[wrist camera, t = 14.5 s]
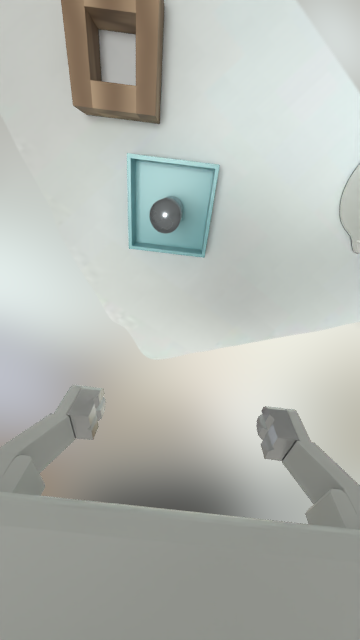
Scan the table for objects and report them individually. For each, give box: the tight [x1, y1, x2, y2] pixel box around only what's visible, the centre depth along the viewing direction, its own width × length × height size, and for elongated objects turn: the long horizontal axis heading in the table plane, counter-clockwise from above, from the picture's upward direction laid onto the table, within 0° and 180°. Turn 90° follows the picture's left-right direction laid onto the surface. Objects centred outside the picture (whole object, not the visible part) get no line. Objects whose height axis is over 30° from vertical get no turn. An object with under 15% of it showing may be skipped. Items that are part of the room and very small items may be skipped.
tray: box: [127, 153, 220, 257], centre depth 35 cm, size 13×13×4 cm
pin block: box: [61, 0, 164, 124], centre depth 26 cm, size 11×11×4 cm
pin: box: [149, 196, 184, 233], centre depth 32 cm, size 4×4×10 cm
